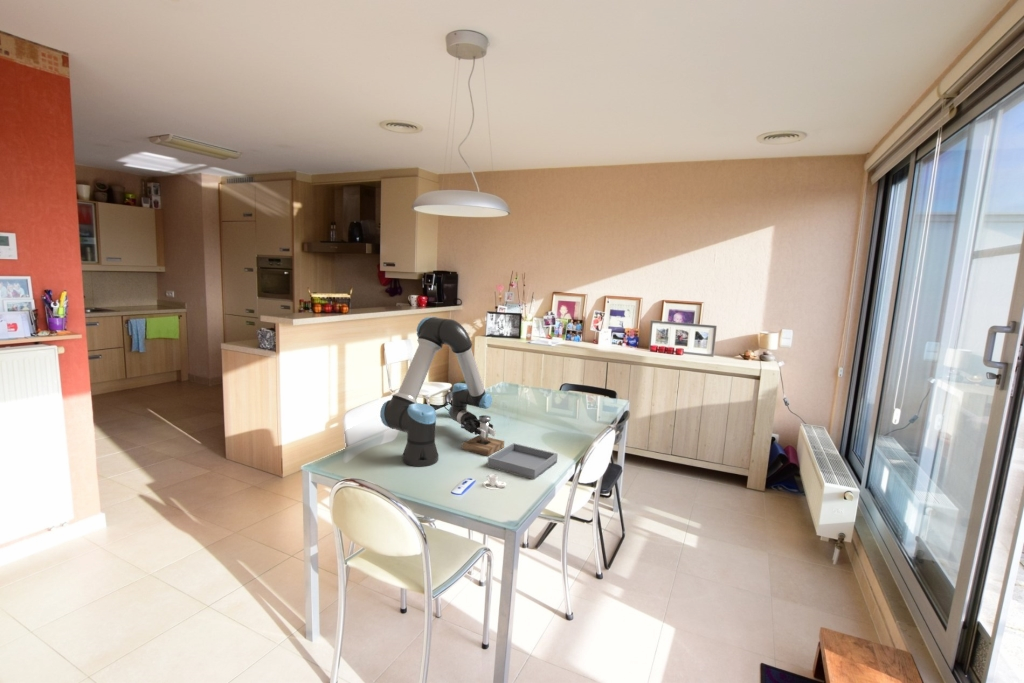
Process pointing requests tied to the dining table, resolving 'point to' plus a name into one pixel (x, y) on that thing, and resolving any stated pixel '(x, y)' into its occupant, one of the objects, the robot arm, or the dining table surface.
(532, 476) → the tray
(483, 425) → the lock pin
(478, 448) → the socket block
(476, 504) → the dining table surface
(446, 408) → the coffee mug
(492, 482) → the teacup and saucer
